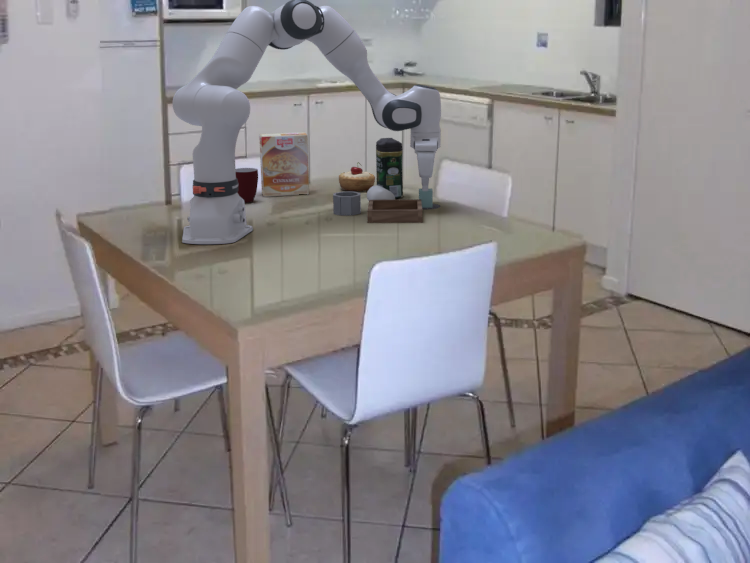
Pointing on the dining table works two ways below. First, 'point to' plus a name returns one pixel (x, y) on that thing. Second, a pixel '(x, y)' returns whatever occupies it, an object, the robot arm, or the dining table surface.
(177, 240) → the dining table surface
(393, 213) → the walnut box
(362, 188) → the pastry
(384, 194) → the white rounded lump
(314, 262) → the dining table surface
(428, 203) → the block
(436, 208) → the coaster
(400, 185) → the coffee jar
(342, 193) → the stoneware cup
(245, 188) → the mug
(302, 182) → the coffeecake box
